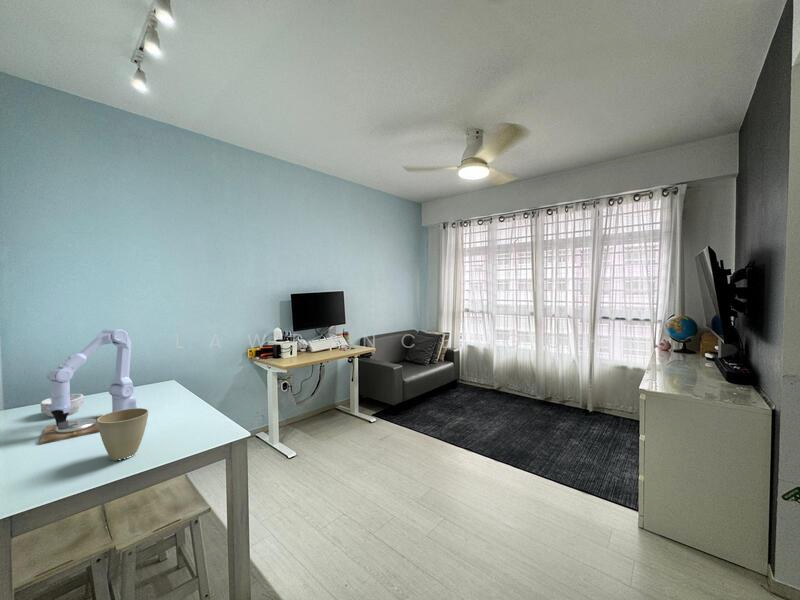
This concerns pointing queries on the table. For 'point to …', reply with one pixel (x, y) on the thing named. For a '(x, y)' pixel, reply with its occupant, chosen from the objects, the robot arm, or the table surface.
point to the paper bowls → (75, 401)
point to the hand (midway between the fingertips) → (61, 425)
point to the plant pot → (122, 431)
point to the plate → (52, 436)
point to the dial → (74, 425)
